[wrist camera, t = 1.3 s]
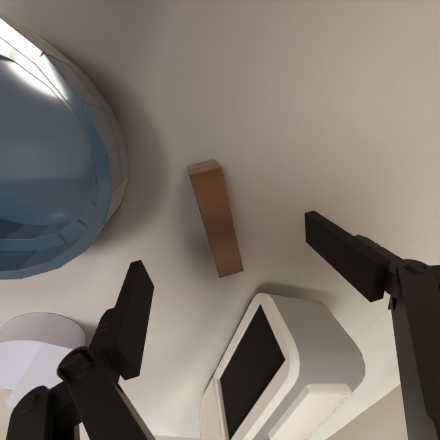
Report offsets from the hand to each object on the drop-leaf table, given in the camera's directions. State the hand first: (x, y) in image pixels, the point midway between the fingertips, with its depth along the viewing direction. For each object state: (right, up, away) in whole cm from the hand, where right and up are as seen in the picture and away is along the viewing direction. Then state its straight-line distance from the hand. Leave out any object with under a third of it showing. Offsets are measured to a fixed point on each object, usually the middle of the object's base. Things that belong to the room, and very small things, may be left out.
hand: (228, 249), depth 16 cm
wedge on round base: (-21, -13, +10) cm, 27 cm away
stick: (-1, +3, +6) cm, 7 cm away
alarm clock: (+4, -18, +18) cm, 26 cm away
